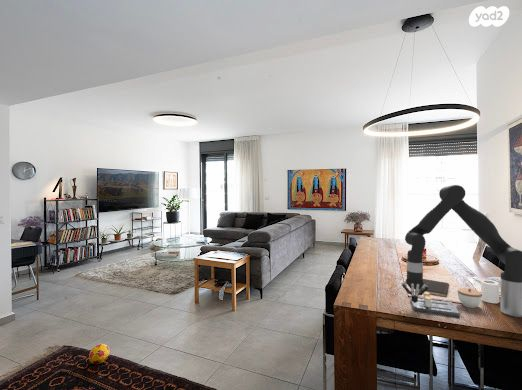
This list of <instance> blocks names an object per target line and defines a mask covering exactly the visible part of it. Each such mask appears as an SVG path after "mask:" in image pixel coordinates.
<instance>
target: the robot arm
mask: <svg viewBox="0 0 522 390" xmlns="http://www.w3.org/2000/svg"><path fill="white" fill-rule="evenodd" d="M465 196H466V190H465V188H464V187H463V186H462V185H459V184H452V185H448V186H445V187H442V188H441V189H440V190H439V198H440V202H439V203H438V204H437V205H436V206H434V207H433V208H432V209H431V210H430V211H428V212H427V213H426V214H425V215H424V216H423V217H422V218H421V220H420V221H419V222H418V224H416V225H415V226H414V227H413V228H411V229H410V230H408V232H406V234H405V237H404V241H405V243H406V244H408V245H410V246H411V249H410V250H408V251H407V256H406V257H407V258H406V259H407V261H406V279H405V282H401V285H402V288H403V289H404V290H405V292H406V293H407V294H409V295H411V297H410V300H411V299H412V301H413V303H416V302H418V298H419V296H423V295H424V292H425V291H426V290H427V289H428V286H427V285H425V284H424V282H423V279H424V266H423V254H424V252H425V251H424V250H425V249H426V238H425V236H424V235H427V234H430V233H431V232H432V231H433V230H434V229H435V228H436V227H437V225H438V224H439V223H440V221H441V220H442V219H443V218H444V217H445V216H446V215H447V214H448V213H449V212H450V211H451V210H452V211H453V212H455V213H456V214H457V216H458V217H459V218H460V219H461V220H462V221H463V222H464V223H465V224H466V225H467V226H468V227H469V228H470V230H471V231H472V232H473V233H474V234H475V235H476V236H477V237H479V239H480V240H481V241H482V242H484V243H485V244H486V245H487V246H488V247H489V248H490V250H491V251H492V253H493V254H494V255H495V256H496V258H497V259H498V260H499V261H500V262H501V263H502V264H504V271H502V272H500V312H501V313H503V314H505V315H508V316H510V317H516V318H522V250H520V249H517V248H514V247H512V246H511V245H510V244H509V243H508V242H507V241H505V240H504V239H503V238H502V237H501V235H500V233H499V230H498V229H497V227H496V226H495V224H494V223H493V222H492V221H491V220H490V219H489V218H488V217H487V216H486V215H485V214H483V212H481V211H480V210H477V209H475V208H474V207H472V206H471V205H469V204H467V203H466V202H465V200H464V198H465ZM422 286H423V288H422V289H421V290H420V291H419V289H420V288H421V287H422ZM408 287H409V288H410V290H409V288H408Z"/></svg>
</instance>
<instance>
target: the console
mask: <svg viewBox="0 0 522 390" xmlns="http://www.w3.org/2000/svg"><path fill="white" fill-rule="evenodd" d="M410 303H411V306H412V309H413V311H414V312H418V313H419V312H420V313H425V314H426V313H427V314H434V315H442V316H450V317H456V318H457V317H458V318H460V315H461V313H460V311H459V310H458V309H457V306H456V305H455V304H454V302H452V301H446V300H445V301H444V300H443V301H442V300H436V299H431V307H426V306H425V302H424V298H421V297H420V298H419V297H418V302H416V303H413V301H412V299H411V298H410Z"/></svg>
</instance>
